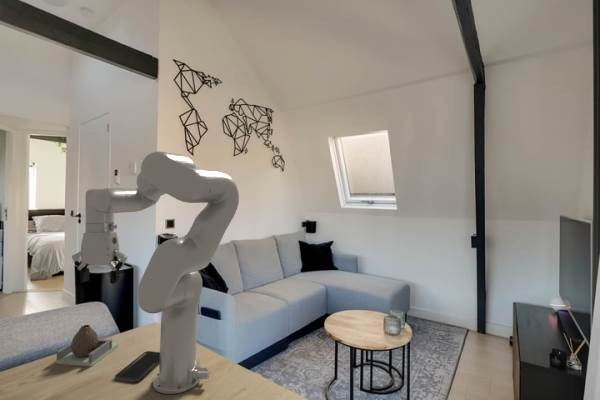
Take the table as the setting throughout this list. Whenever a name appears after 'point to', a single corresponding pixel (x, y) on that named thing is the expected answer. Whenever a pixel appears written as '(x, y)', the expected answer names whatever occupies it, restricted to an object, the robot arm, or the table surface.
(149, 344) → the table surface
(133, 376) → the phone
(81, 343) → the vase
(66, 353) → the grey-green shallow square tray
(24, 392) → the table surface
